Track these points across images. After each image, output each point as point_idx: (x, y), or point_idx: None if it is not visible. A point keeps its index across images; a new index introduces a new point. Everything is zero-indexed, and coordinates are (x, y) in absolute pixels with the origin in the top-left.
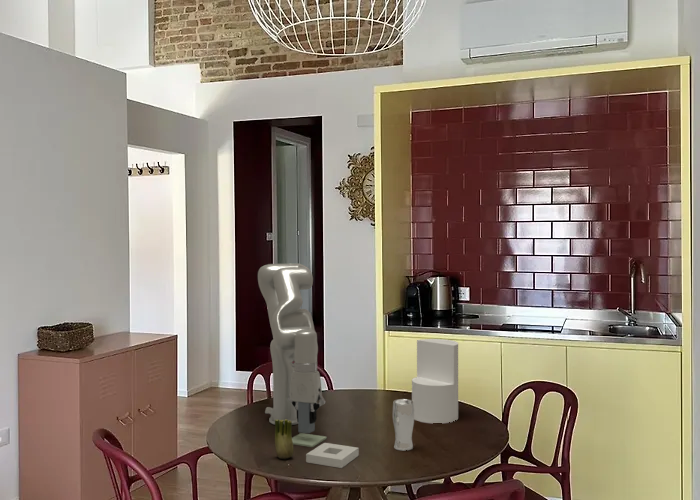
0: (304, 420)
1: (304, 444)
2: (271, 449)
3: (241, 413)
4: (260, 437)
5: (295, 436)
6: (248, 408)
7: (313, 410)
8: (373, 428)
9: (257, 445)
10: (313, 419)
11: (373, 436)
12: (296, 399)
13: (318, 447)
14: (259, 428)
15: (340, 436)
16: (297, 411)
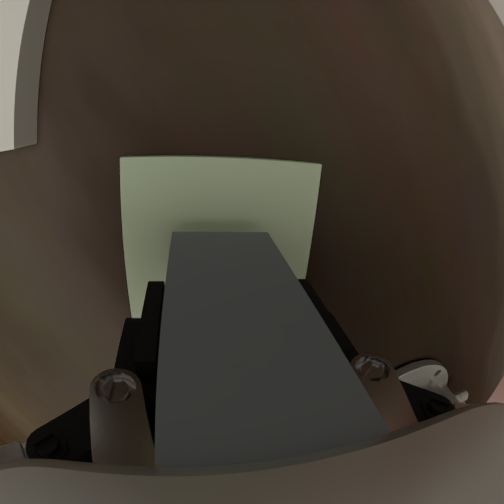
0: (221, 281)
1: (179, 155)
2: (345, 39)
3: (497, 371)
4: (452, 208)
5: (303, 268)
6: (481, 402)
7: (105, 388)
8: None
9: (431, 90)
10: (132, 321)
11: (11, 394)
12: (446, 449)
13: (12, 47)
14: (466, 304)
15: (100, 369)
16: (344, 341)
